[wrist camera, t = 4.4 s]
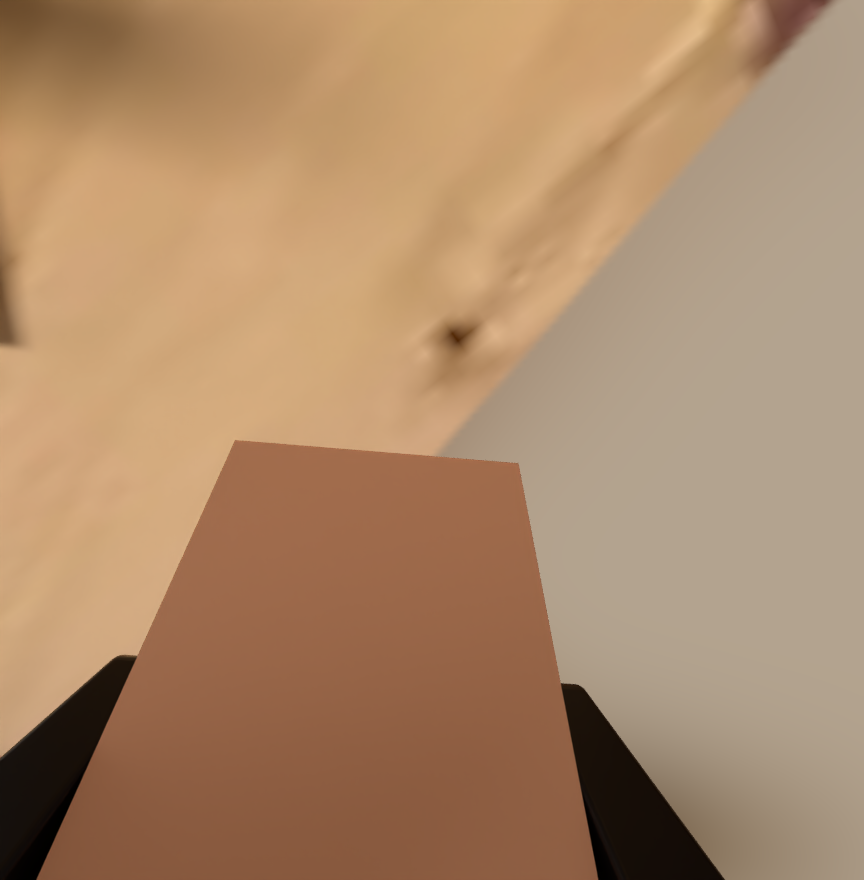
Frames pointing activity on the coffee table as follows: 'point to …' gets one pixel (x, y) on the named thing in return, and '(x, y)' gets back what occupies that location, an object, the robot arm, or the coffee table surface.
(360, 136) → the coffee table surface
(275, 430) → the coffee table surface
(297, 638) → the domino
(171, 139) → the coffee table surface
